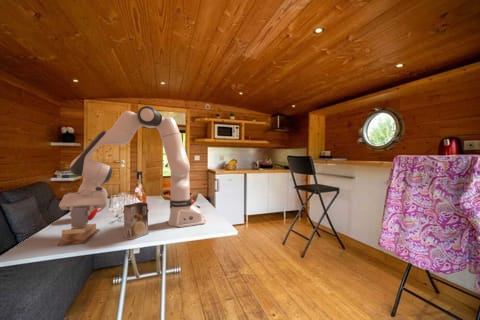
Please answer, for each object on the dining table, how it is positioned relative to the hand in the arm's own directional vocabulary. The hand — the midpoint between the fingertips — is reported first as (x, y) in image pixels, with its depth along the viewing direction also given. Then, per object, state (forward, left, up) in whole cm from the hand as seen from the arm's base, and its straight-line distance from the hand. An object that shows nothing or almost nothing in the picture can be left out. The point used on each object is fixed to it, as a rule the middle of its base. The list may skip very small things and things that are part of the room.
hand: (79, 215), depth 102 cm
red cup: (+9, -34, -11) cm, 37 cm away
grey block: (0, 0, -5) cm, 5 cm away
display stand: (0, 0, -11) cm, 11 cm away
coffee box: (-26, +4, -11) cm, 29 cm away
